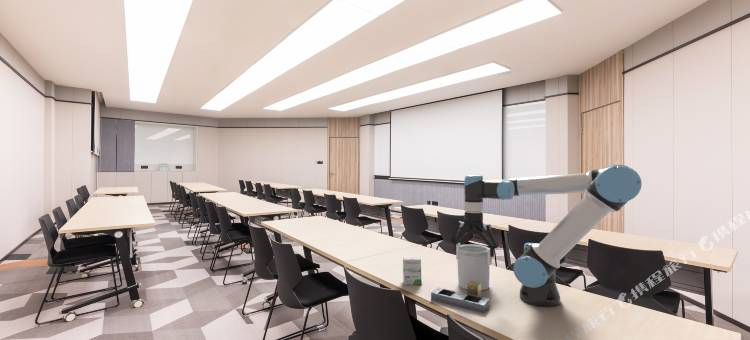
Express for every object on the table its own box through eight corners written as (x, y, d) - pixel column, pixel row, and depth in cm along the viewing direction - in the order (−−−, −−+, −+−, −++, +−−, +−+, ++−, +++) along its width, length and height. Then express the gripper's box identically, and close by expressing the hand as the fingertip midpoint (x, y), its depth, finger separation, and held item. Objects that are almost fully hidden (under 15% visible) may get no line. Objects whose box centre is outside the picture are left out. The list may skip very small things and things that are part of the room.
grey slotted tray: (489, 306, 130) (489, 298, 130) (483, 313, 124) (483, 305, 124) (438, 294, 143) (438, 287, 143) (431, 299, 137) (431, 292, 137)
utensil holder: (454, 288, 149) (453, 250, 149) (459, 278, 163) (459, 243, 162) (488, 293, 143) (488, 253, 143) (491, 282, 157) (491, 245, 156)
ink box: (421, 281, 159) (421, 256, 159) (421, 285, 154) (421, 259, 154) (403, 280, 160) (402, 256, 160) (403, 284, 155) (402, 259, 155)
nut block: (481, 296, 140) (481, 282, 140) (477, 300, 136) (477, 286, 136) (471, 294, 142) (470, 280, 142) (467, 297, 139) (467, 283, 139)
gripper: (506, 212, 134) (506, 264, 135) (449, 208, 149) (449, 254, 149) (501, 215, 128) (501, 269, 129) (442, 210, 143) (442, 258, 143)
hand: (473, 261), depth 139 cm, fingers open, 13 cm apart
